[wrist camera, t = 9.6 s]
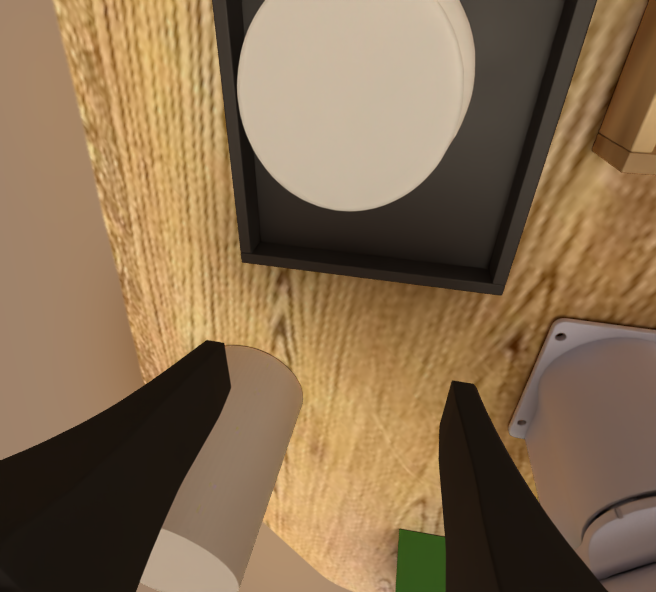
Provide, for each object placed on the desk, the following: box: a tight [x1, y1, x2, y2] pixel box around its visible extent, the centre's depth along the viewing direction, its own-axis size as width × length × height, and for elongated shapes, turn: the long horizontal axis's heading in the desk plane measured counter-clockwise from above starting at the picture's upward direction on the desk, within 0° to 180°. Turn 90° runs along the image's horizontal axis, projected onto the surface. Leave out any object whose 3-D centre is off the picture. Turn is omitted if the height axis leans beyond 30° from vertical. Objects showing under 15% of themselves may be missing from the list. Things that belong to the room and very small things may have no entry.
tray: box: [212, 0, 597, 295], centre depth 16 cm, size 17×13×2 cm
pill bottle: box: [237, 0, 475, 211], centre depth 12 cm, size 6×6×10 cm
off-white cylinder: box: [140, 346, 303, 592], centre depth 25 cm, size 8×8×12 cm
